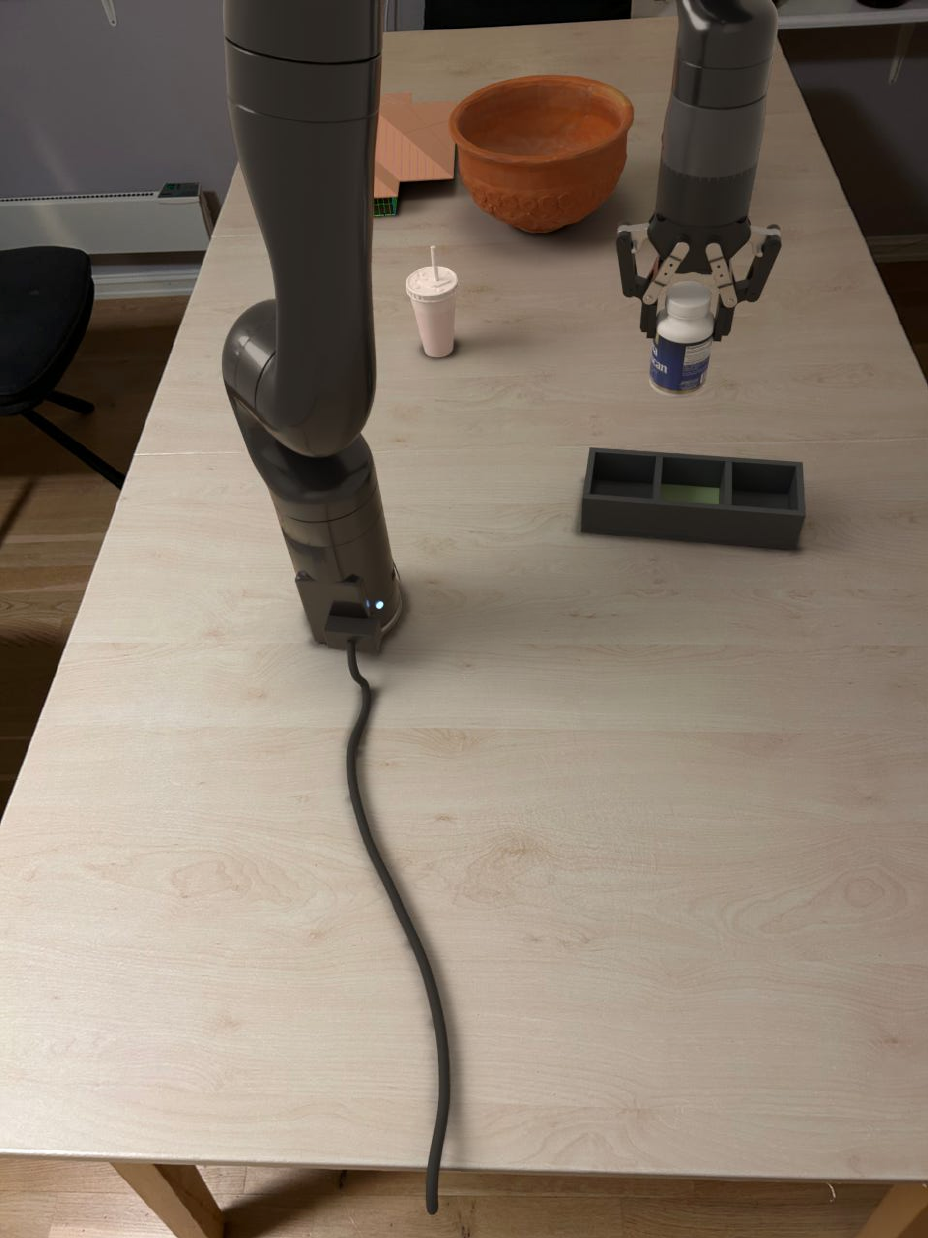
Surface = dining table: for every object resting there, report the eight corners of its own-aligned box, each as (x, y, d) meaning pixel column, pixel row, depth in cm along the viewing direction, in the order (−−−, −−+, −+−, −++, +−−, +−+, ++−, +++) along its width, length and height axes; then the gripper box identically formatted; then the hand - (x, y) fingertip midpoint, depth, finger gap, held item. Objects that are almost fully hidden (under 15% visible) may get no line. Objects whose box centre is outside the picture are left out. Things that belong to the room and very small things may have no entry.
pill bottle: (637, 376, 91) (646, 287, 84) (683, 358, 93) (696, 269, 85) (668, 407, 88) (680, 317, 81) (715, 388, 90) (732, 298, 82)
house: (459, 113, 159) (455, 61, 153) (454, 214, 139) (450, 159, 133) (327, 121, 161) (318, 70, 155) (302, 222, 141) (291, 168, 134)
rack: (795, 550, 94) (806, 515, 90) (580, 532, 98) (582, 498, 94) (792, 496, 99) (802, 461, 95) (587, 481, 103) (589, 446, 99)
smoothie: (458, 365, 117) (449, 263, 106) (408, 362, 118) (394, 260, 107) (468, 334, 120) (460, 232, 110) (420, 331, 122) (408, 230, 111)
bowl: (658, 236, 132) (669, 127, 120) (495, 283, 127) (490, 174, 115) (580, 162, 146) (583, 58, 135) (432, 201, 142) (422, 98, 130)
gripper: (614, 171, 72) (602, 356, 85) (808, 175, 70) (765, 363, 83) (620, 126, 76) (608, 308, 90) (802, 128, 74) (762, 314, 87)
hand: (683, 334), depth 86 cm, fingers closed on pill bottle, 5 cm apart
